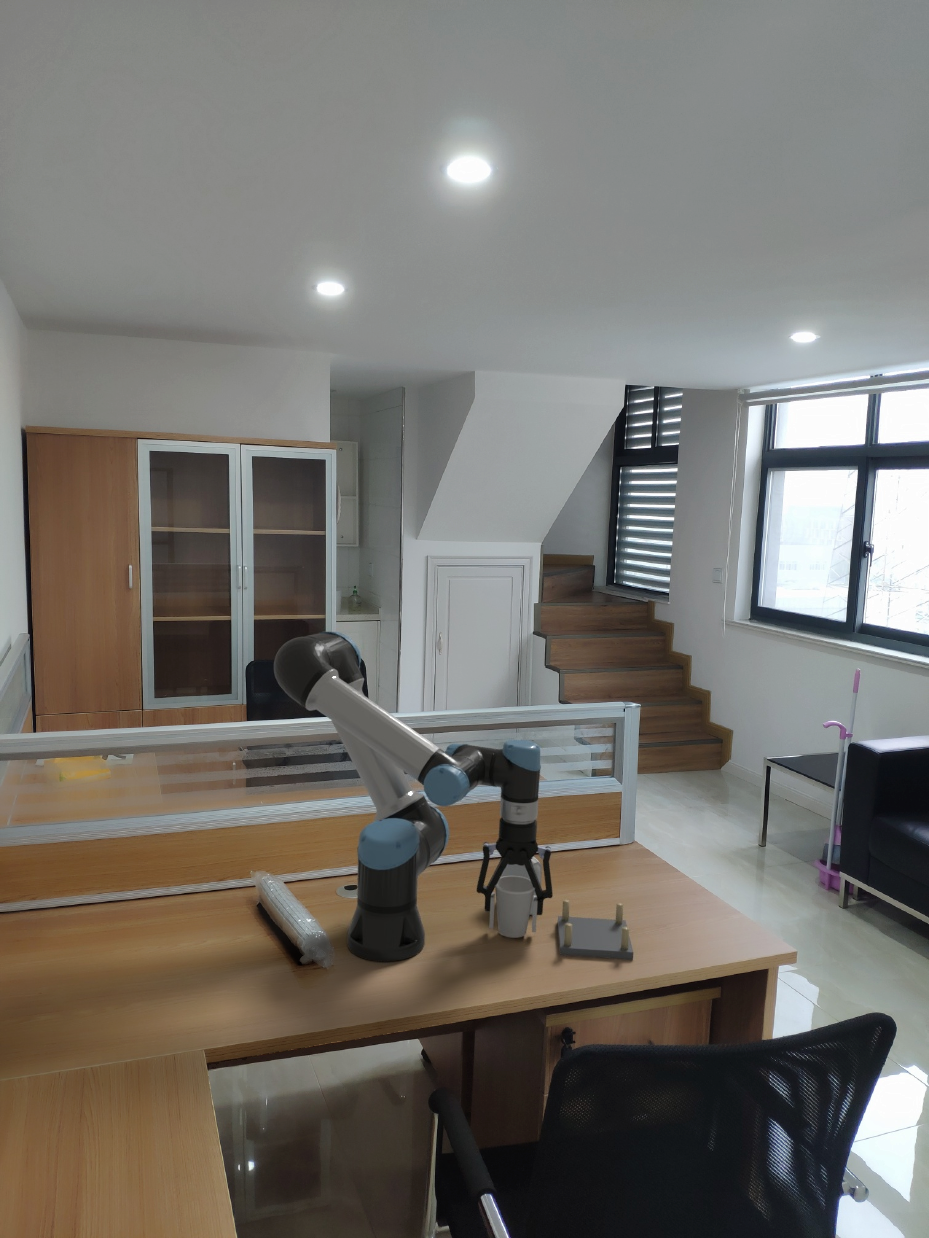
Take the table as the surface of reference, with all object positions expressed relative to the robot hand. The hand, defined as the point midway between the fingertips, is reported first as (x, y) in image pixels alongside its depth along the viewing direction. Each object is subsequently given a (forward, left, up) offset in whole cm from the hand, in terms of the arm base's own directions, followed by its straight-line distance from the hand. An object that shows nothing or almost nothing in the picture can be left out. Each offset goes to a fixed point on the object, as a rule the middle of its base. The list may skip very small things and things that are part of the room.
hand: (512, 927), depth 178 cm
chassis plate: (+16, 0, -2) cm, 16 cm away
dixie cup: (0, 0, -1) cm, 1 cm away
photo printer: (+1, +14, -2) cm, 14 cm away
